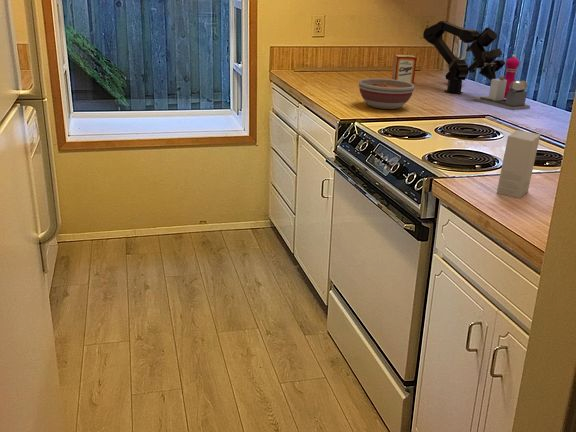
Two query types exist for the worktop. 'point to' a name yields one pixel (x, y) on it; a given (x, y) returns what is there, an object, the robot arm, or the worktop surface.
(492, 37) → the robot arm
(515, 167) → the skincare box
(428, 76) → the worktop surface
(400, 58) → the orange white cardboard box
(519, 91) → the base
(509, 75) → the pepper mill
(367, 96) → the bowl
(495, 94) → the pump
